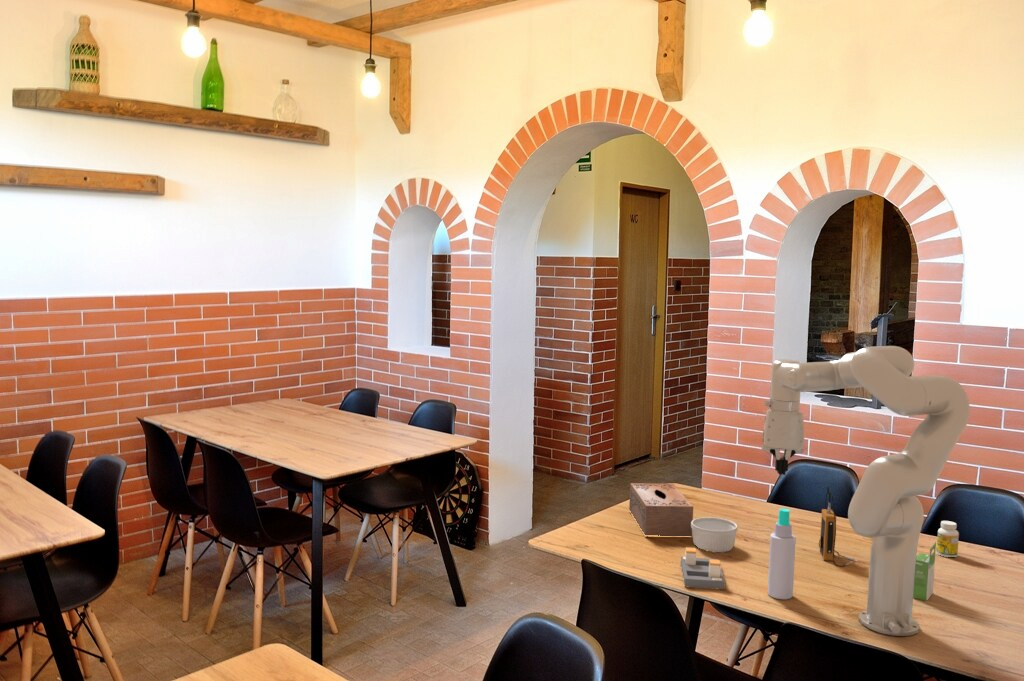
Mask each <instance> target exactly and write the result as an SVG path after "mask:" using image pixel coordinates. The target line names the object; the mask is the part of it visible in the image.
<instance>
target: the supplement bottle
mask: <svg viewBox="0 0 1024 681" xmlns="http://www.w3.org/2000/svg"><path fill="white" fill-rule="evenodd" d="M957 527H958V525H957V523H956V522H954V521H949V520H941V521H940V528H938V530H937V538H936V539H937V541H936V554H937V555H938V554H939V556H940V555H941V556H940V557H943V556H944V558H948V557H955V558H957V557H958V554H959V539H960V538H959V537H960V532H959V531H958V530H957Z"/></svg>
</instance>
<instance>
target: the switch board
mask: <svg viewBox="0 0 1024 681" xmlns="http://www.w3.org/2000/svg"><path fill="white" fill-rule="evenodd" d="M709 559H710V558H708V557H707V558H706V557H696V565H687V564H685V556H680V567H682V570H681V573H682V572H683V575H682V579H683V578H684V581H683V585H685V586H689V587H688V588H693V587H696V589H706V588H718V589H717V590H720V589H725V588H726V586H725V585H726V581H725V578H724V574H723V570H722V568H721V566H720V578H716V577H708V575H709ZM711 559H712V560H719V559H716V558H711Z"/></svg>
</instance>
